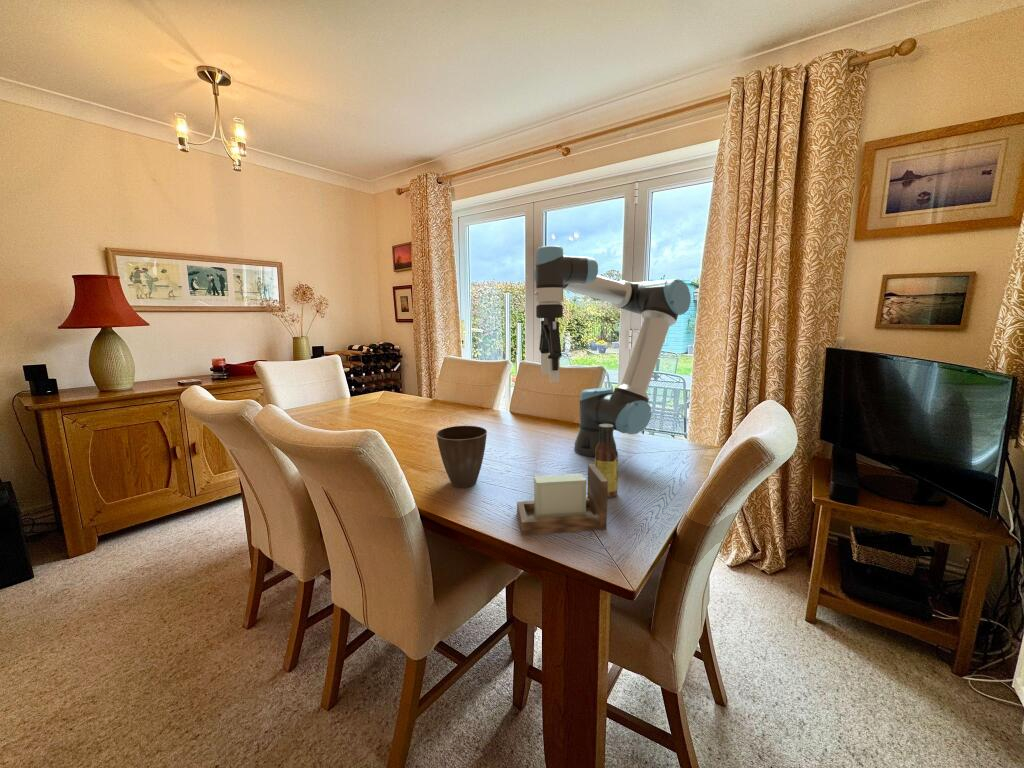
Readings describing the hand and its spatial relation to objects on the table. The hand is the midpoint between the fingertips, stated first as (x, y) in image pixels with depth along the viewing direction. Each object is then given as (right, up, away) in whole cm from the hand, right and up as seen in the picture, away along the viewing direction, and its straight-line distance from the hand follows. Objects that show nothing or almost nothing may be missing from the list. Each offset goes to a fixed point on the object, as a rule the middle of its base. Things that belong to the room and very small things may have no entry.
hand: (549, 378), depth 119 cm
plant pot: (-26, -32, +5) cm, 41 cm away
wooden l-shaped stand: (+1, -35, -18) cm, 40 cm away
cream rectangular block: (+1, -34, -18) cm, 39 cm away
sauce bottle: (+15, -33, -4) cm, 36 cm away
